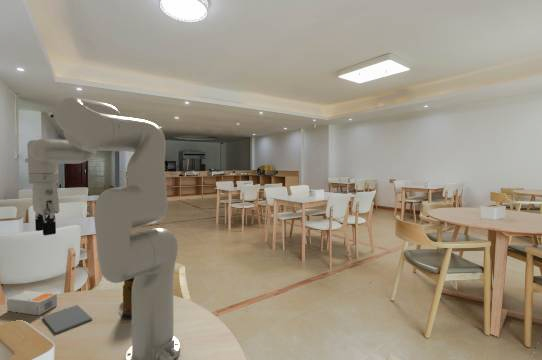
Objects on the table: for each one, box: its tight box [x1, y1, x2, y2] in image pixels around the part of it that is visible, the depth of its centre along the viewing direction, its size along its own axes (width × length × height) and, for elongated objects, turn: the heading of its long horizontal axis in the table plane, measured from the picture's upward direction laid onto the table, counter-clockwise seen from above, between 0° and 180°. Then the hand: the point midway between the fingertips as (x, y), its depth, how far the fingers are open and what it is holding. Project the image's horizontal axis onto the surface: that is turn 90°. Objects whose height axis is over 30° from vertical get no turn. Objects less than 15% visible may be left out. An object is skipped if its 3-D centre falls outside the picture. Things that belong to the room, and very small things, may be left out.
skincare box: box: [6, 290, 58, 316], centre depth 90 cm, size 6×4×12 cm
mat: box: [42, 304, 93, 335], centre depth 84 cm, size 12×9×1 cm
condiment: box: [118, 277, 135, 323], centre depth 88 cm, size 7×8×12 cm
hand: (45, 231), depth 92 cm, fingers open, 7 cm apart
